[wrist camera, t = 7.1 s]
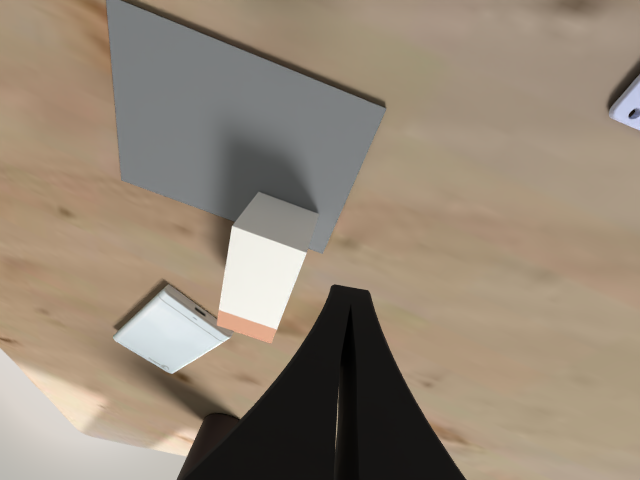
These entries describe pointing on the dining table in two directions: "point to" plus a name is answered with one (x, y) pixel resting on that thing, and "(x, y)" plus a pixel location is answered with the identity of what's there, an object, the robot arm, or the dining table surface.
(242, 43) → the dining table surface
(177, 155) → the mat
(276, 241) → the block
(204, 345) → the hard drive
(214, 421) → the bottle
